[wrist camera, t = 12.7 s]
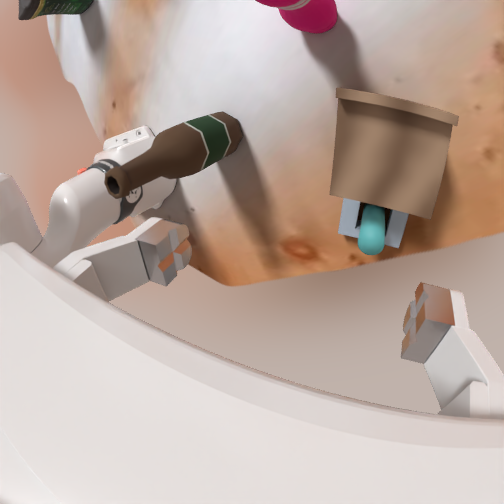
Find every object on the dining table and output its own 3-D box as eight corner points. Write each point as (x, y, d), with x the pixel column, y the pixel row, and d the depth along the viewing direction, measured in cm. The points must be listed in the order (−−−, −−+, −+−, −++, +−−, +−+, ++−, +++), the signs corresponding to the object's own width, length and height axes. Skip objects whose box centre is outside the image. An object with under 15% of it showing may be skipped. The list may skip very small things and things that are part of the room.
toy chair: (343, 165, 39) (326, 201, 29) (349, 87, 32) (336, 87, 22) (419, 183, 35) (432, 227, 25) (432, 105, 28) (458, 116, 18)
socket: (340, 224, 44) (337, 233, 42) (353, 128, 35) (351, 131, 33) (398, 238, 41) (398, 248, 39) (420, 143, 32) (423, 147, 29)
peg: (365, 197, 40) (360, 228, 33) (387, 202, 39) (387, 235, 31) (361, 217, 42) (355, 251, 35) (382, 222, 41) (380, 257, 34)
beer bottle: (222, 162, 47) (120, 229, 30) (196, 129, 45) (84, 178, 28) (253, 137, 42) (148, 195, 25) (224, 101, 40) (105, 136, 23)
